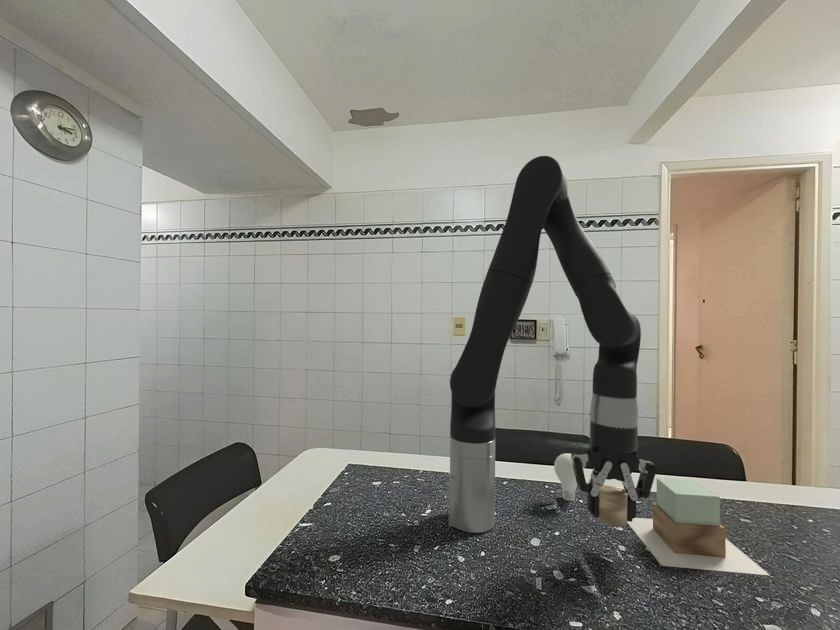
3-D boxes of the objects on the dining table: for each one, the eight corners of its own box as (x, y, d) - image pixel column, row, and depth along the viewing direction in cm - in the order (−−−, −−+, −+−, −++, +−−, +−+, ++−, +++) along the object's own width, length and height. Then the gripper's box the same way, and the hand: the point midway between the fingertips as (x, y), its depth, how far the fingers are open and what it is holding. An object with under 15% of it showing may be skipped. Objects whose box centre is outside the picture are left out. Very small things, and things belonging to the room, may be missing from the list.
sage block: (676, 522, 66) (675, 493, 66) (656, 504, 73) (656, 477, 73) (720, 526, 65) (719, 496, 65) (696, 506, 72) (695, 480, 72)
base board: (661, 571, 62) (661, 565, 62) (622, 521, 78) (622, 516, 78) (770, 581, 59) (770, 575, 60) (707, 528, 75) (707, 523, 75)
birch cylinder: (600, 525, 64) (600, 495, 64) (591, 511, 69) (592, 483, 69) (631, 529, 63) (632, 499, 63) (620, 514, 68) (621, 486, 68)
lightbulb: (586, 510, 82) (586, 460, 82) (556, 507, 83) (556, 457, 84) (580, 497, 88) (580, 450, 88) (552, 495, 89) (552, 448, 90)
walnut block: (674, 553, 65) (674, 523, 65) (652, 528, 73) (652, 502, 73) (725, 557, 64) (725, 527, 64) (697, 532, 72) (697, 505, 72)
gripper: (576, 422, 64) (573, 523, 64) (667, 429, 62) (665, 534, 61) (566, 412, 71) (563, 503, 71) (647, 418, 69) (645, 512, 69)
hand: (611, 516), depth 66 cm, fingers closed on birch cylinder, 5 cm apart
